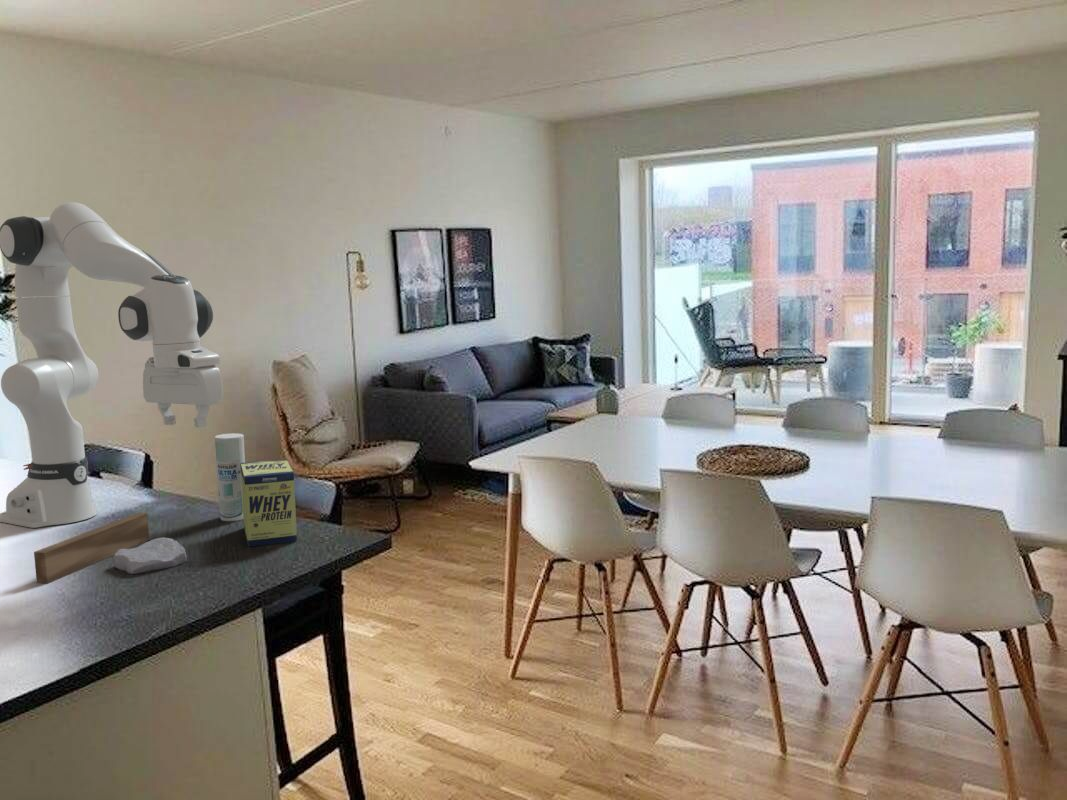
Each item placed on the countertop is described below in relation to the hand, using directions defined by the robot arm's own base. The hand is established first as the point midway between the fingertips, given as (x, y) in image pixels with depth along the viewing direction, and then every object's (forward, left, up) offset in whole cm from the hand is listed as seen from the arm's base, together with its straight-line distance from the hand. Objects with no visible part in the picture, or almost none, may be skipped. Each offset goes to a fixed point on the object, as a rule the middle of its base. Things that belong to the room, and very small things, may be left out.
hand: (185, 425), depth 173 cm
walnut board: (-19, -6, -28) cm, 34 cm away
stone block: (-6, -5, -28) cm, 29 cm away
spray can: (-10, +28, -28) cm, 41 cm away
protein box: (+6, +18, -28) cm, 34 cm away
